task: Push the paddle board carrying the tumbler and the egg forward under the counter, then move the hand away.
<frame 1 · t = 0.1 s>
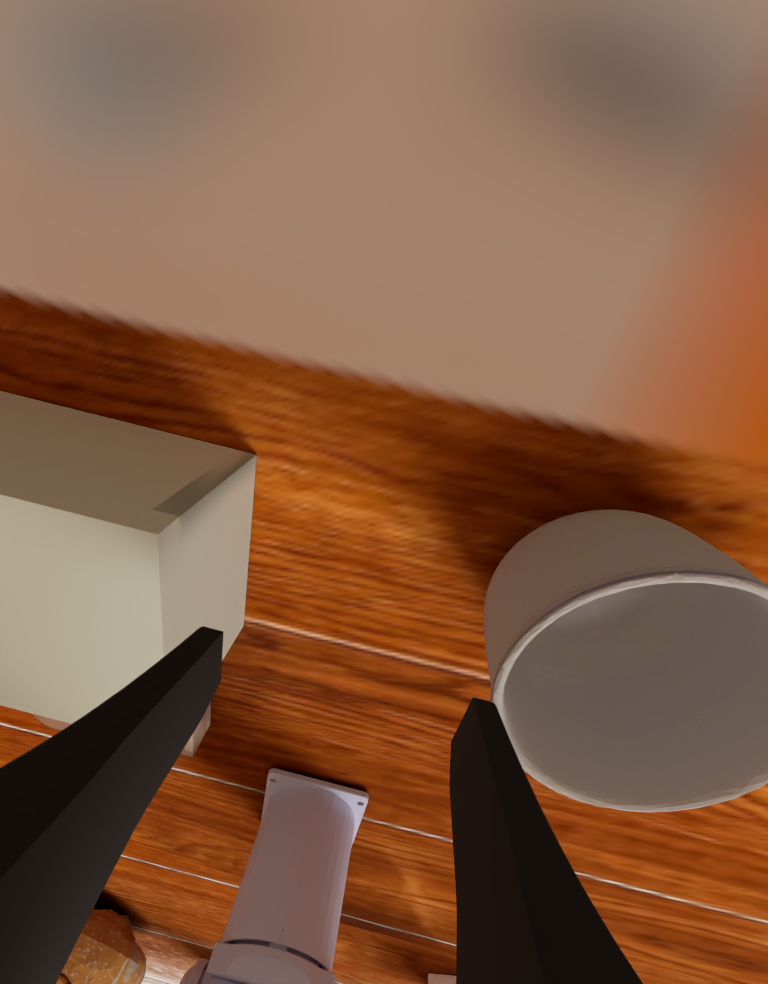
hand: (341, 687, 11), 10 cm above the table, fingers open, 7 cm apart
milk: (458, 983, 45), on the table
nautilus: (101, 895, 47), on the table
counter: (130, 519, 22), on the table
teacup: (605, 584, 21), on the table
paddle board: (143, 661, 27), on the table, touching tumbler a, egg b
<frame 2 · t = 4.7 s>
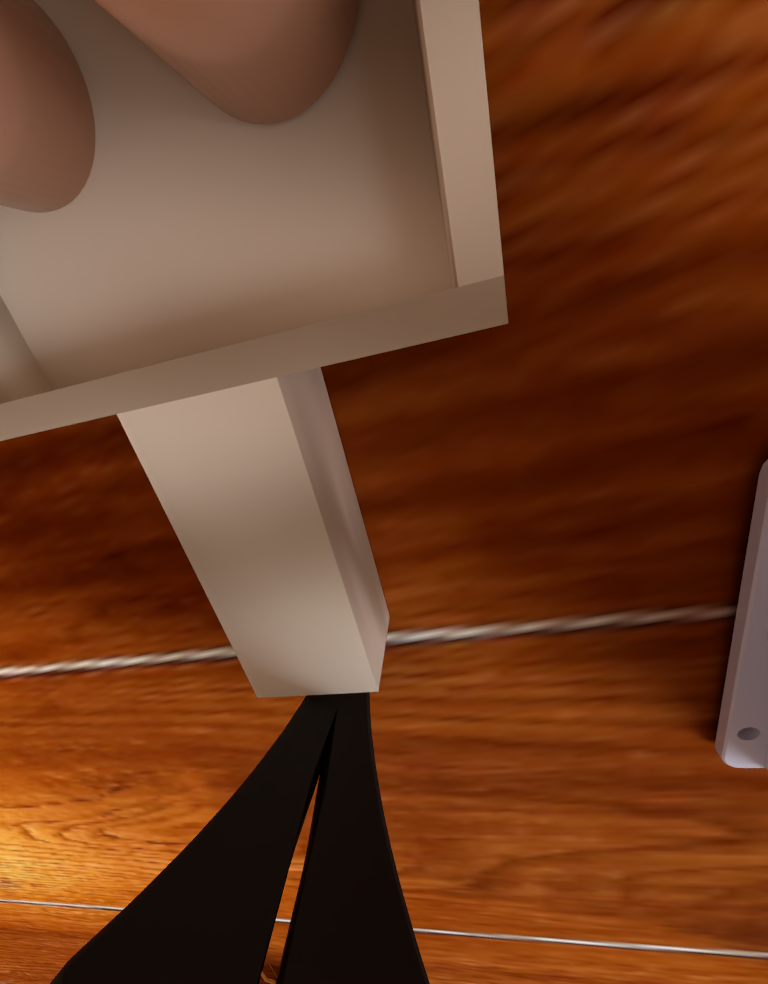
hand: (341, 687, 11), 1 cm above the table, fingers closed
egg b: (6, 103, 6), point 1 cm above the table, touching paddle board
paddle board: (151, 76, 7), on the table, touching gripper, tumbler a, egg b
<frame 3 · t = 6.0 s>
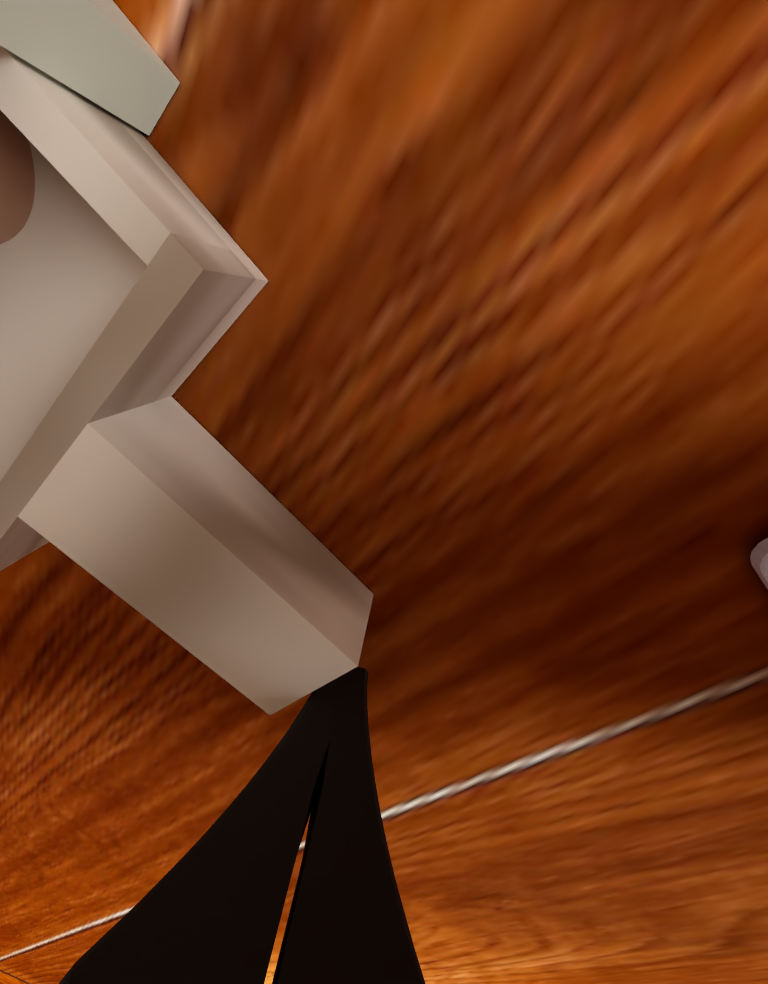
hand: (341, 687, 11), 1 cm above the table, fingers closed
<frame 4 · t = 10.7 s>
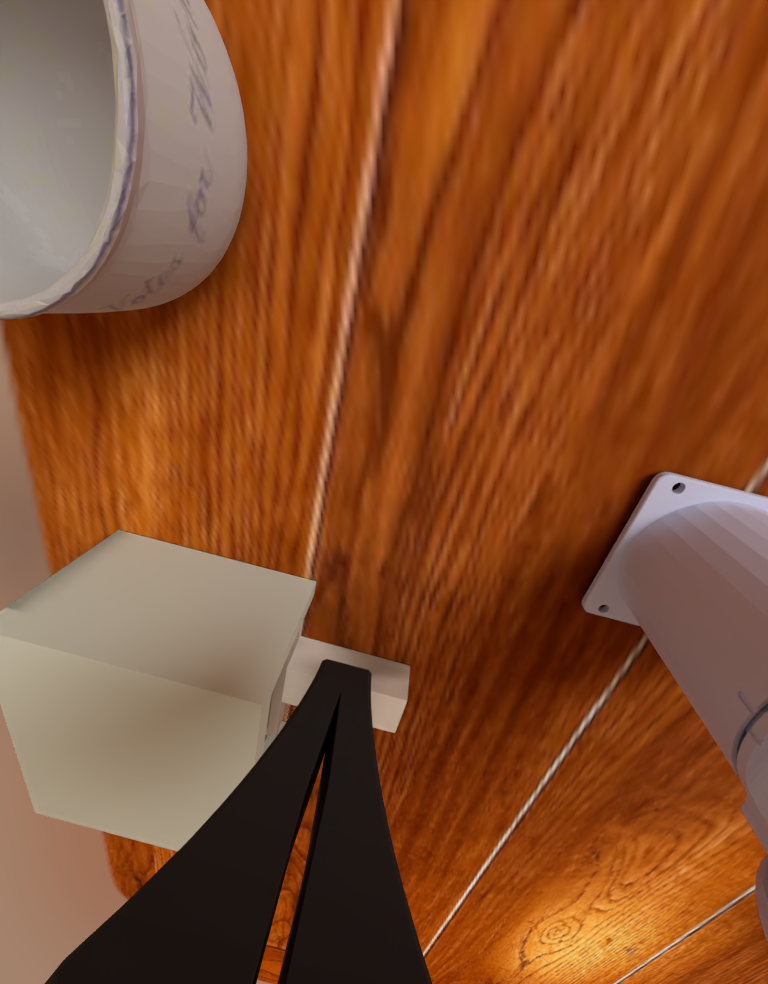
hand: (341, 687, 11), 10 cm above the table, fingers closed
counter: (213, 642, 25), on the table
teacup: (150, 110, 14), on the table
paddle board: (222, 632, 25), on the table, touching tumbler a, egg b
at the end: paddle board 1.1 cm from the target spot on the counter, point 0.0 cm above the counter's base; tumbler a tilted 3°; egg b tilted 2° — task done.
